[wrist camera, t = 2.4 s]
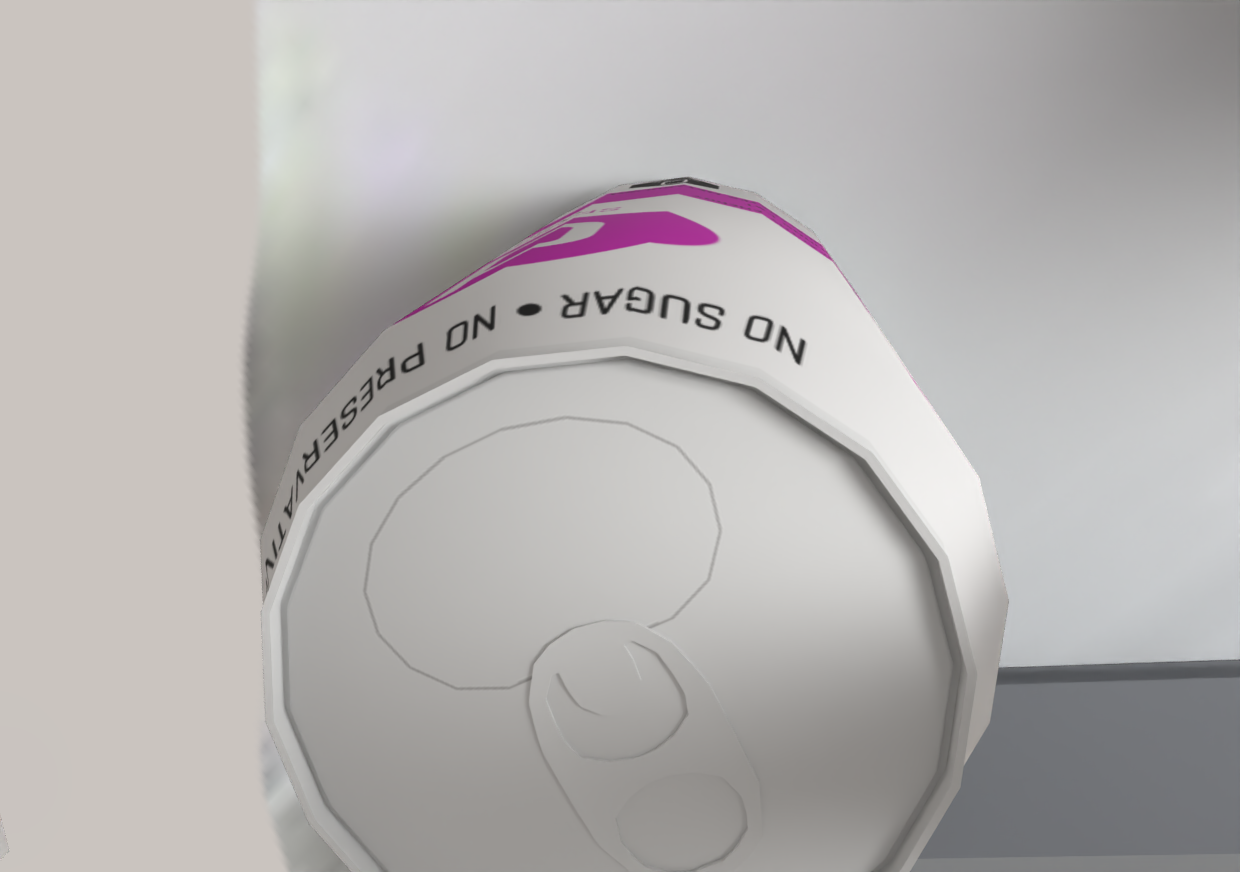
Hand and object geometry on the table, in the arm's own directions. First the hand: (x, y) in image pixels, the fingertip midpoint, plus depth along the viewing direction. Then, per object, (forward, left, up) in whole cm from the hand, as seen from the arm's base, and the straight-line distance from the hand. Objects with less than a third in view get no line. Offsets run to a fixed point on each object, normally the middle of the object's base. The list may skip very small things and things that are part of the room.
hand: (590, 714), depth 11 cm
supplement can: (0, 0, -15) cm, 15 cm away
